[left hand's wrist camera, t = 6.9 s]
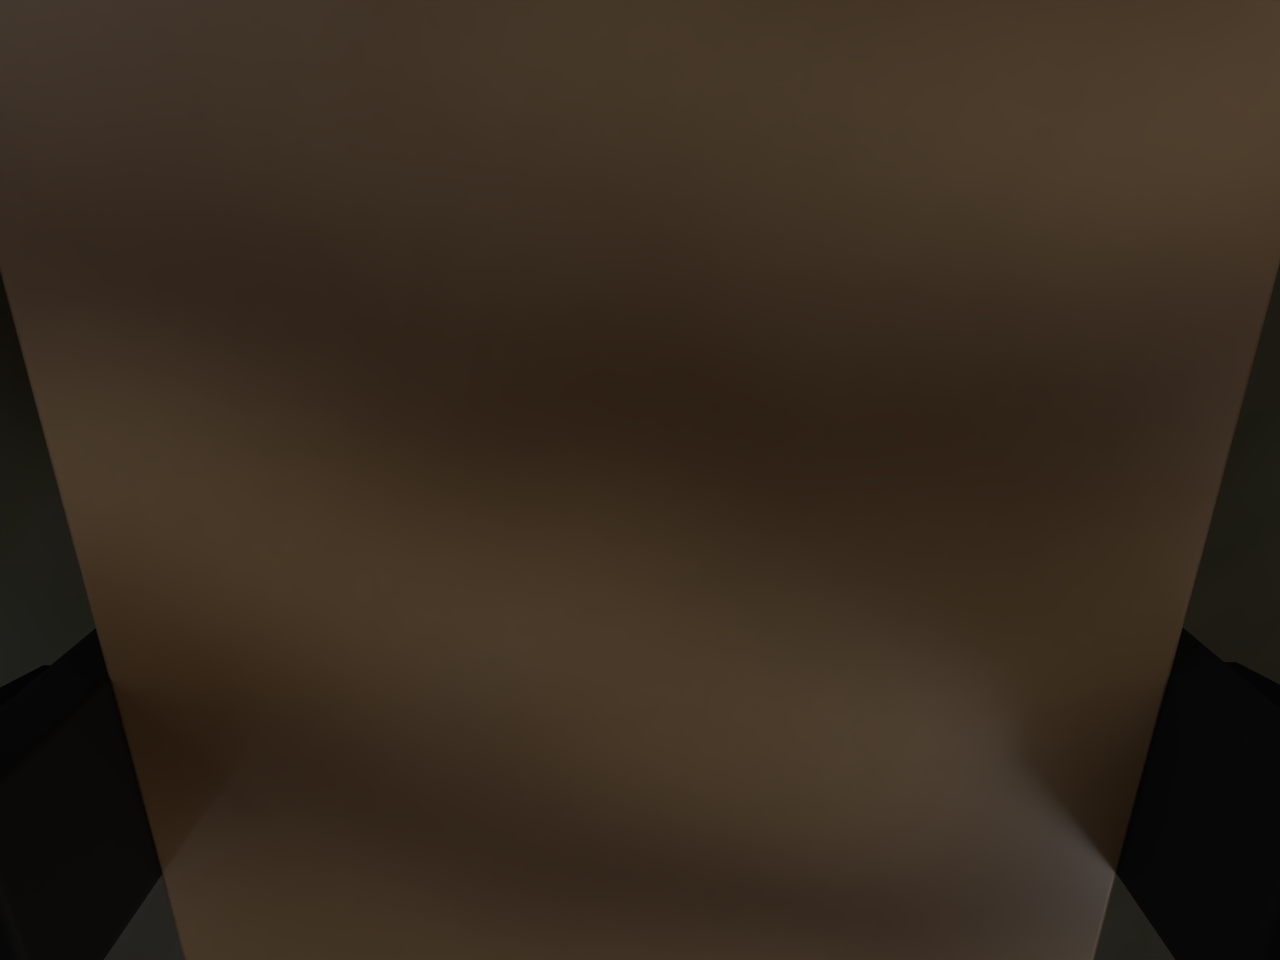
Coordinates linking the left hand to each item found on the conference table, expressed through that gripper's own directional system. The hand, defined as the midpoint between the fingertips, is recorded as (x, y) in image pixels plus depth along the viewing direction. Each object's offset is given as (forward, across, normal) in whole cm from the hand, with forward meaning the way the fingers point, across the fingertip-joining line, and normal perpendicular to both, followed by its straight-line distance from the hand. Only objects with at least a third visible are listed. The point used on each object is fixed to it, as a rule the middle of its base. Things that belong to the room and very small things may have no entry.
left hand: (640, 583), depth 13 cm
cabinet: (+4, 0, -5) cm, 6 cm away
